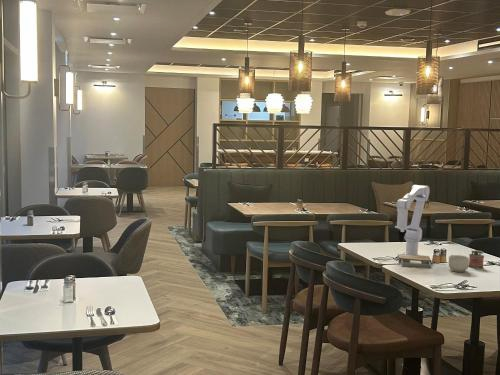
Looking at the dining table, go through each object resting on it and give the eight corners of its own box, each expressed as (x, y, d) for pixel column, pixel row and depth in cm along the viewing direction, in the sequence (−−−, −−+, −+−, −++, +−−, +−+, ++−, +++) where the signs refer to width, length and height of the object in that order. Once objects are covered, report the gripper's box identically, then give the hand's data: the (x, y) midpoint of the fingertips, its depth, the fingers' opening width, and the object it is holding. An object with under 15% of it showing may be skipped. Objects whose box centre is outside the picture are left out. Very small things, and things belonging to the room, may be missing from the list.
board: (397, 257, 364) (398, 253, 364) (428, 260, 361) (428, 256, 361) (399, 262, 352) (399, 258, 352) (430, 264, 349) (431, 260, 348)
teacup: (470, 273, 330) (472, 259, 329) (451, 272, 330) (452, 258, 329) (462, 267, 344) (463, 254, 343) (443, 267, 344) (444, 253, 343)
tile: (410, 262, 342) (410, 265, 342) (421, 263, 341) (421, 266, 341) (410, 260, 347) (409, 263, 347) (420, 261, 346) (420, 264, 346)
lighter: (467, 267, 346) (469, 250, 345) (468, 266, 349) (470, 249, 348) (482, 269, 342) (484, 251, 341) (483, 268, 345) (484, 250, 344)
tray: (400, 262, 352) (401, 259, 351) (429, 264, 349) (429, 261, 348) (401, 266, 342) (402, 262, 342) (431, 268, 339) (431, 264, 339)
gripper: (394, 217, 366) (393, 239, 368) (396, 220, 352) (394, 243, 354) (406, 218, 365) (405, 240, 367) (408, 221, 351) (407, 244, 352)
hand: (400, 241), depth 360 cm, fingers closed
